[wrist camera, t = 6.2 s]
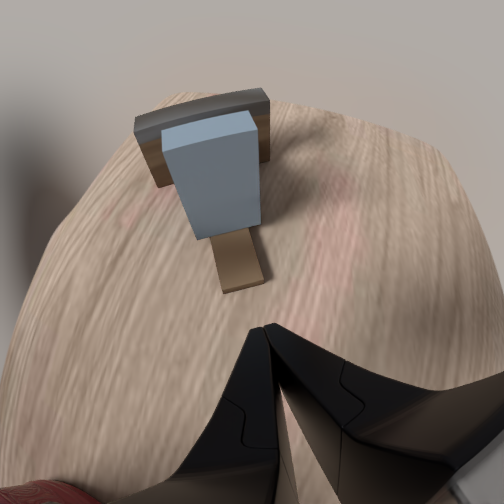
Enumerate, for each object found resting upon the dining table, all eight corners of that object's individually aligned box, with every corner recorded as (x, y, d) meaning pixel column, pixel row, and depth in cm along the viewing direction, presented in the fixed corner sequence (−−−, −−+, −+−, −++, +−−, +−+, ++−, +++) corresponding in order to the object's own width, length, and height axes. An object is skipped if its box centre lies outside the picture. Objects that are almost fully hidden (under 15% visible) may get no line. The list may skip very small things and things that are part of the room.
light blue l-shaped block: (260, 224, 21) (257, 129, 13) (197, 240, 21) (162, 151, 13) (232, 143, 26) (223, 63, 18) (183, 155, 25) (161, 77, 17)
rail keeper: (315, 269, 20) (336, 214, 14) (171, 306, 19) (130, 266, 13) (252, 124, 28) (249, 70, 22) (156, 147, 28) (138, 96, 21)
